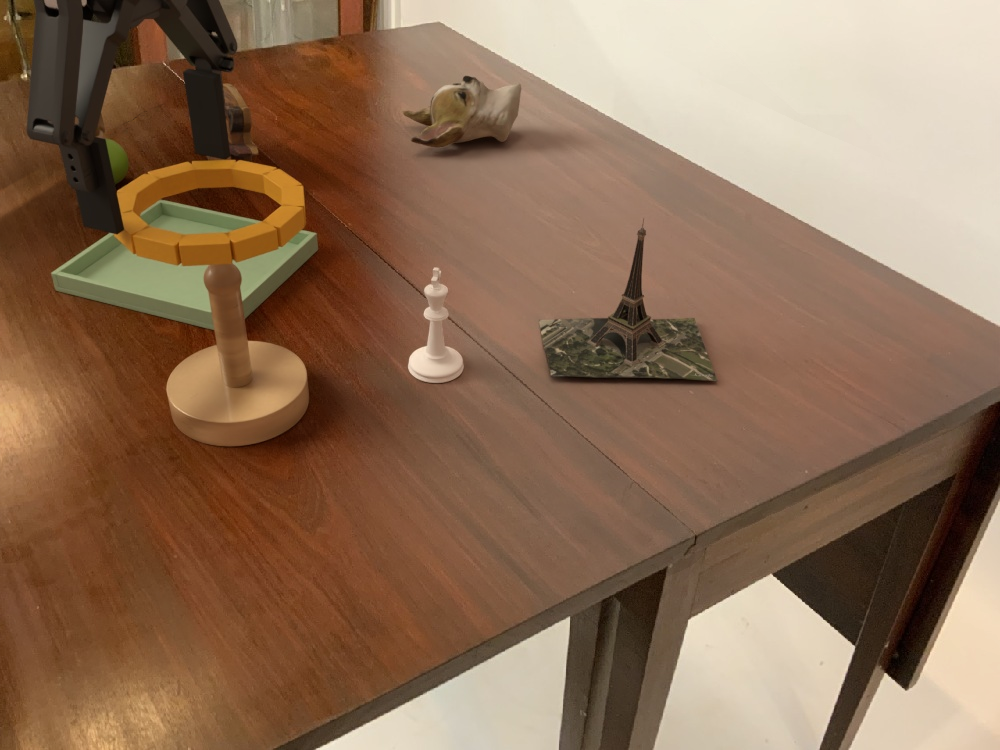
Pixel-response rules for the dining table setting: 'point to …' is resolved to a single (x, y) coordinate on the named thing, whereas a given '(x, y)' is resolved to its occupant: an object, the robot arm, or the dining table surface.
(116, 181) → the snail figurine
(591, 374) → the eiffel tower figurine
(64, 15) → the robot arm
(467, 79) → the ceramic sculpture
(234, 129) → the wooden carving
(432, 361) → the chess piece
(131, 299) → the tray
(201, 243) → the hoop
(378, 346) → the dining table surface
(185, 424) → the post
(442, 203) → the dining table surface
